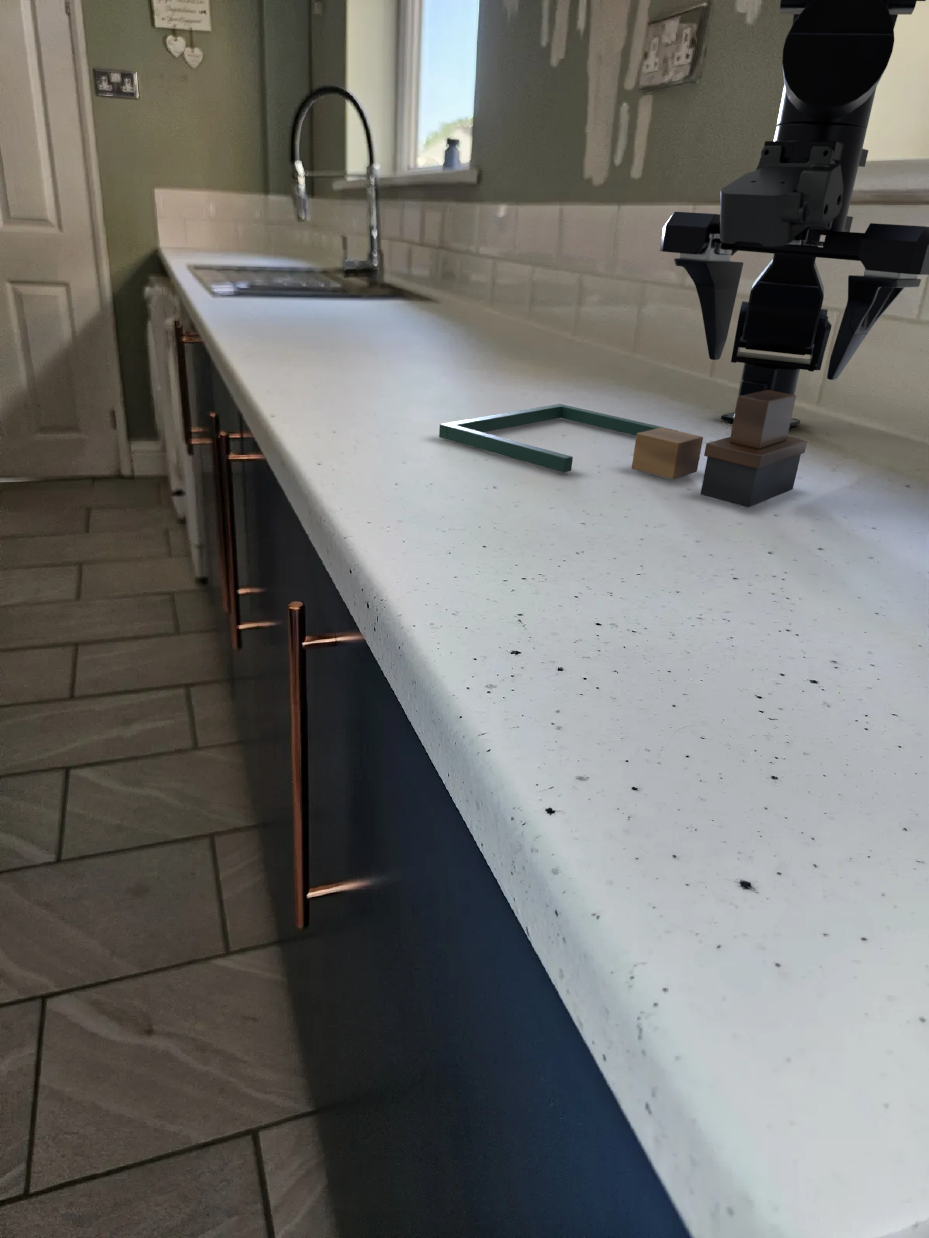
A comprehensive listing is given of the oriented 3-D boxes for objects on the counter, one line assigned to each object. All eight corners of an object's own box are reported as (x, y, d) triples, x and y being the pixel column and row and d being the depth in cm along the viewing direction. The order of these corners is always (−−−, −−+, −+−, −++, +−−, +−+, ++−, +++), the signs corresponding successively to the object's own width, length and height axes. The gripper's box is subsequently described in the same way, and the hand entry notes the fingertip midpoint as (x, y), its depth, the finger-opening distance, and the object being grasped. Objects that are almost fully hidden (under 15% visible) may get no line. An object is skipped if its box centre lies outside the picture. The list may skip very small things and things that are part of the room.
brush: (745, 477, 72) (764, 385, 69) (796, 489, 70) (818, 395, 67) (696, 494, 67) (714, 395, 64) (749, 509, 64) (771, 406, 61)
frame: (558, 415, 91) (559, 403, 90) (677, 443, 82) (679, 430, 82) (438, 437, 78) (439, 424, 78) (564, 473, 70) (565, 458, 69)
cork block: (655, 461, 75) (661, 427, 74) (697, 472, 73) (703, 436, 72) (630, 468, 72) (636, 432, 71) (673, 479, 70) (679, 443, 69)
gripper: (636, 115, 58) (604, 357, 64) (931, 110, 47) (857, 403, 53) (715, 134, 66) (680, 348, 72) (985, 133, 54) (915, 387, 61)
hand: (770, 369), depth 64 cm, fingers open, 9 cm apart
